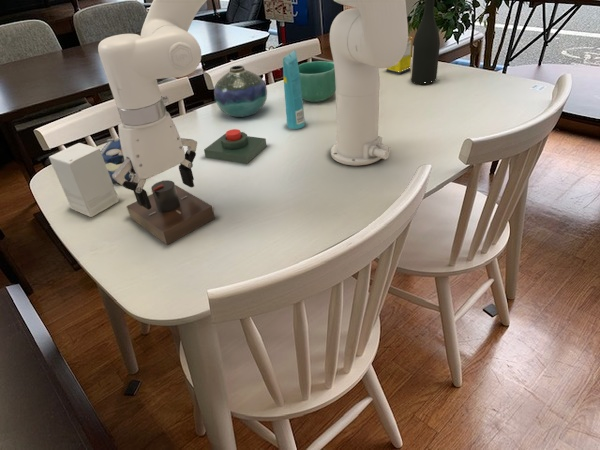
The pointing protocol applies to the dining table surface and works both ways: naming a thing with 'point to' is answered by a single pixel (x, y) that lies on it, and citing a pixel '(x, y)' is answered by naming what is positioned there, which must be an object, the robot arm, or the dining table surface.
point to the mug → (317, 80)
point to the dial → (165, 196)
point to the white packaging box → (84, 179)
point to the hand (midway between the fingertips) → (168, 195)
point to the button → (233, 135)
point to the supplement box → (403, 60)
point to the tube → (293, 92)
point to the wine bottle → (425, 48)
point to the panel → (173, 216)
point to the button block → (236, 148)
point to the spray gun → (114, 157)
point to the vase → (240, 92)
